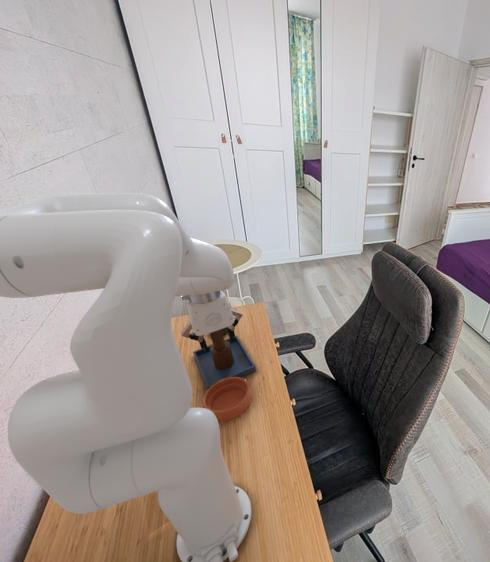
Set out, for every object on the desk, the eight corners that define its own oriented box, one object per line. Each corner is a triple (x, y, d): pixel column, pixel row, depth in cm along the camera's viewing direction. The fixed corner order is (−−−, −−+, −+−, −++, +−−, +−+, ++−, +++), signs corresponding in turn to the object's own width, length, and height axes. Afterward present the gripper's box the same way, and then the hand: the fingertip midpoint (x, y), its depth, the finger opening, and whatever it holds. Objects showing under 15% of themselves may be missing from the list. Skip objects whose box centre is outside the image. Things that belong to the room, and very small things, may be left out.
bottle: (236, 364, 88) (228, 331, 81) (217, 372, 85) (207, 338, 78) (231, 354, 91) (222, 321, 84) (212, 361, 88) (202, 328, 81)
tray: (256, 372, 86) (255, 366, 85) (209, 394, 79) (206, 387, 77) (238, 340, 97) (236, 335, 96) (194, 357, 90) (192, 351, 88)
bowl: (258, 406, 76) (255, 397, 74) (212, 431, 70) (209, 421, 68) (244, 380, 84) (241, 370, 82) (201, 399, 77) (198, 390, 75)
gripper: (168, 311, 67) (188, 364, 76) (243, 289, 77) (253, 339, 86) (163, 297, 72) (182, 348, 81) (234, 278, 82) (244, 326, 91)
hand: (219, 343), depth 84 cm, fingers open, 6 cm apart
